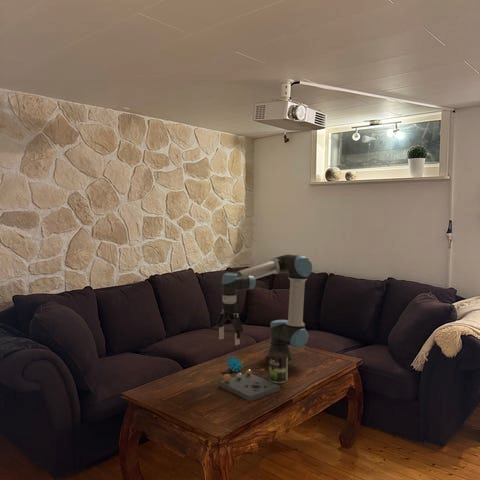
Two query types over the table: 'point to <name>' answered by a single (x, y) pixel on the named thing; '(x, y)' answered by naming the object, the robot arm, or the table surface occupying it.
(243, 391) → the plate
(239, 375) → the steel ball
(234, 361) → the gear
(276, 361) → the coffee can
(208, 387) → the table surface
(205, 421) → the table surface
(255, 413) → the table surface
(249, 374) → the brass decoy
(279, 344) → the robot arm
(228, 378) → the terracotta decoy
